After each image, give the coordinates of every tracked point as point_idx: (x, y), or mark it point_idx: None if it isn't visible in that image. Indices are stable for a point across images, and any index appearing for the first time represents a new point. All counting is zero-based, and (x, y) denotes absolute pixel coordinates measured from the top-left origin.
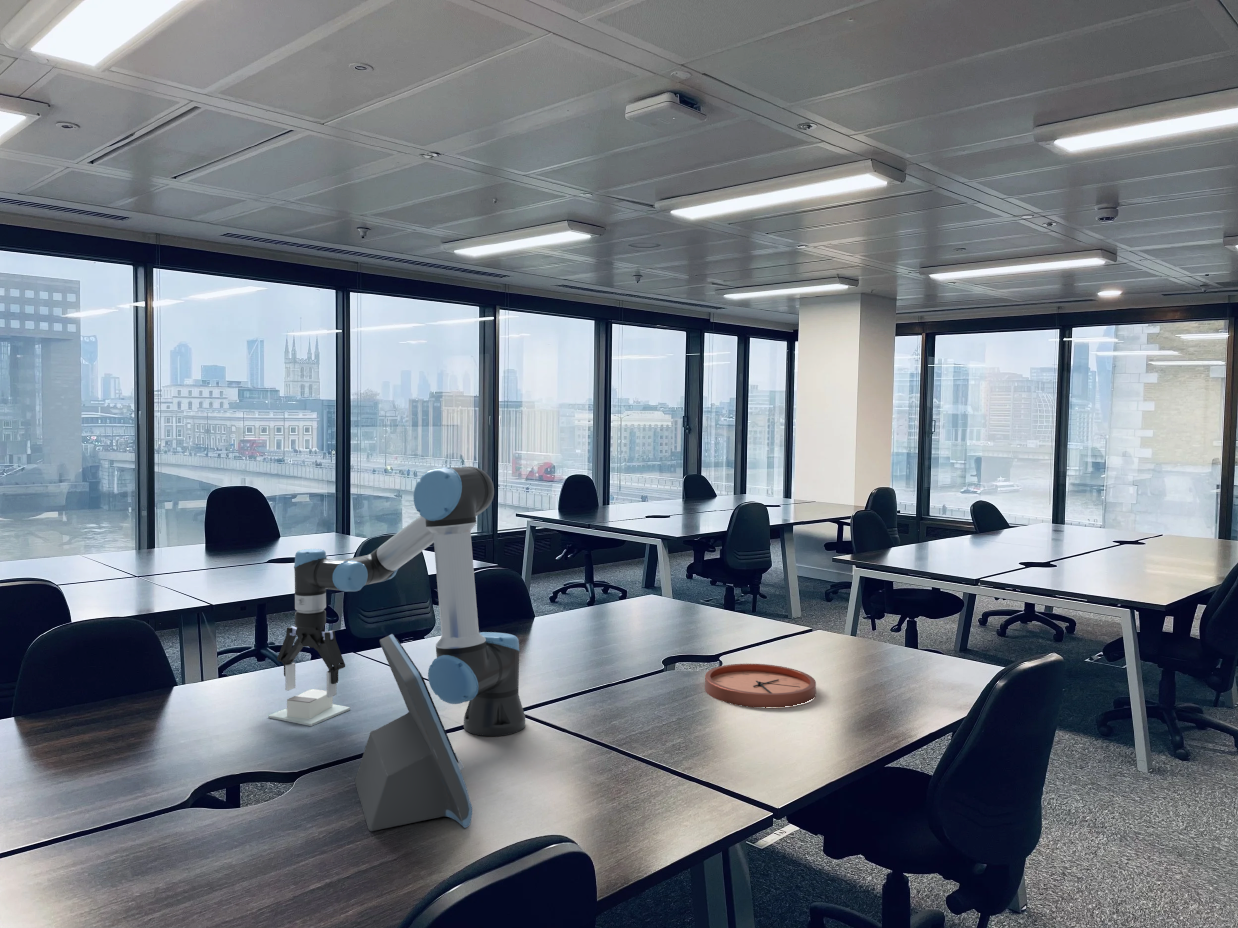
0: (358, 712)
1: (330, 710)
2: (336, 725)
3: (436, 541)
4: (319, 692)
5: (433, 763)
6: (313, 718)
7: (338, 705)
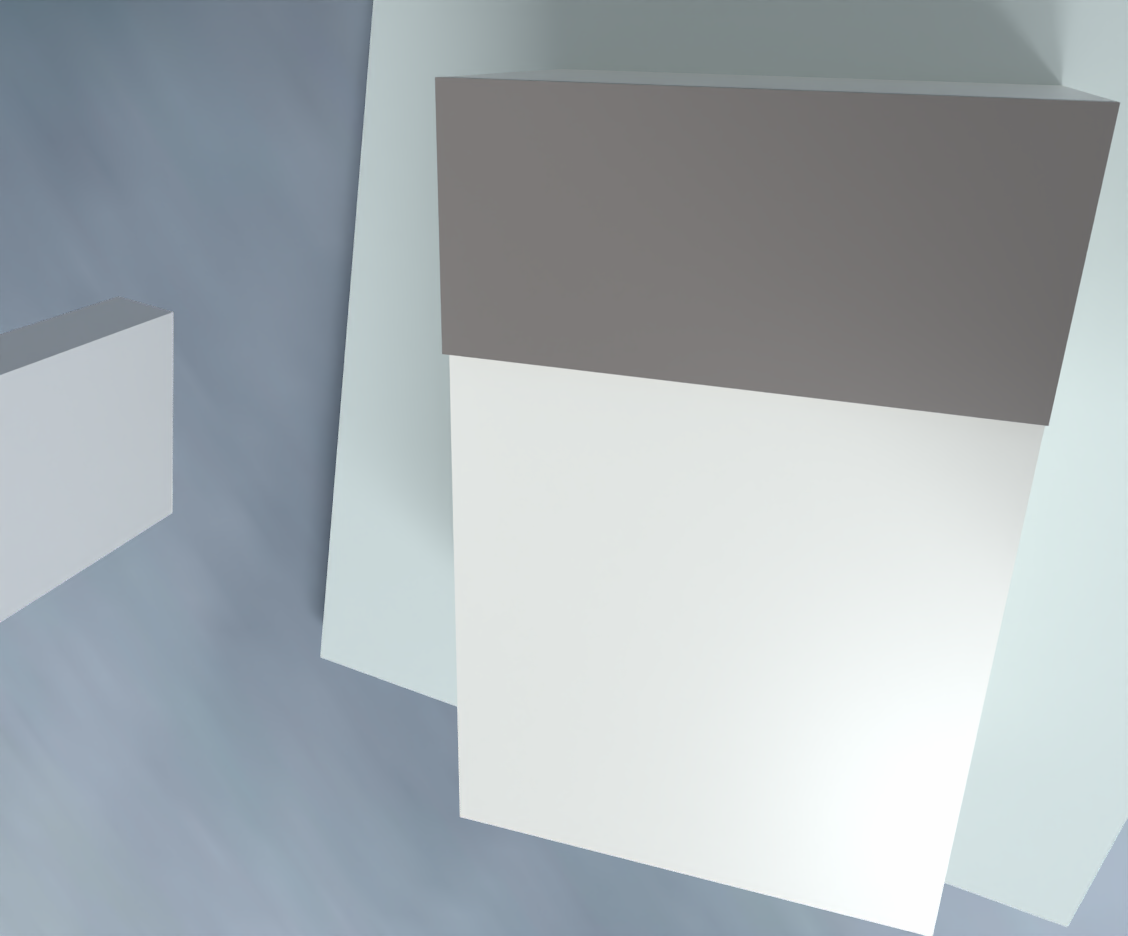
0: (192, 553)
1: None
2: (109, 3)
3: None
4: (647, 750)
5: None
6: None
7: None
